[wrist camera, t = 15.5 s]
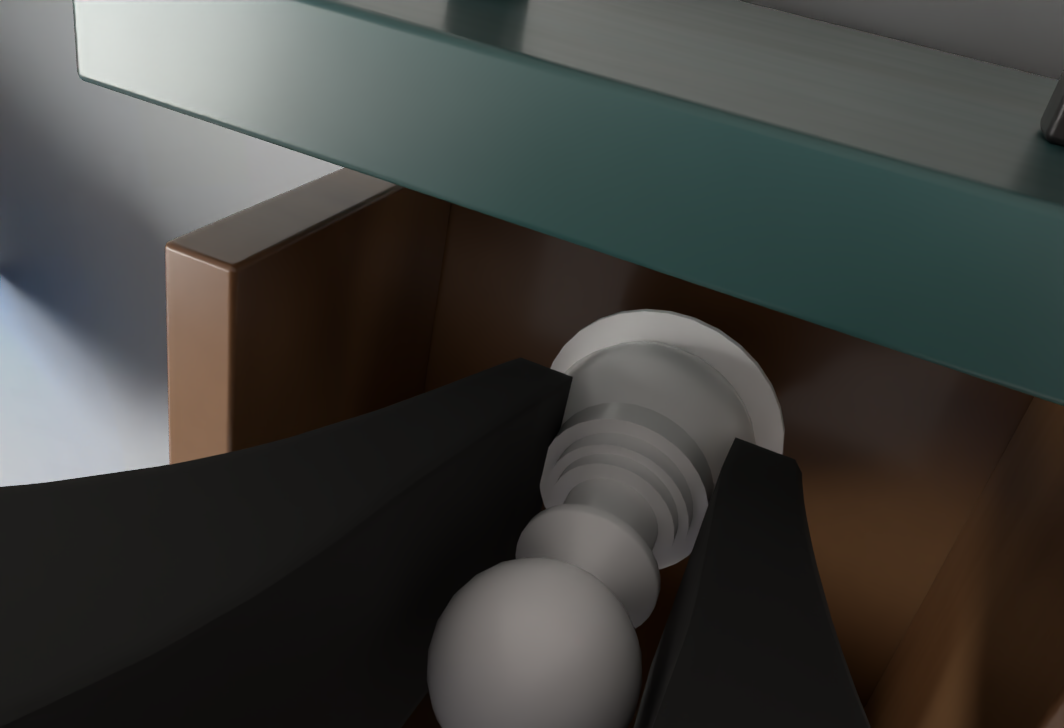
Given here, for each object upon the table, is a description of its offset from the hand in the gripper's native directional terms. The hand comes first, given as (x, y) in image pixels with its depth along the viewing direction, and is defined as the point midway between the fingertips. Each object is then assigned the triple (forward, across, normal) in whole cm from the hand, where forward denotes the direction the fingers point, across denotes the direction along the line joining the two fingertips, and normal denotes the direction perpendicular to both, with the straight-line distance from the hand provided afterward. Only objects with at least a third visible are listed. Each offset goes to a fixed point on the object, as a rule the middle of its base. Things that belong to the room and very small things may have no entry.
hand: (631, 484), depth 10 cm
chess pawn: (+2, 0, 0) cm, 2 cm away
